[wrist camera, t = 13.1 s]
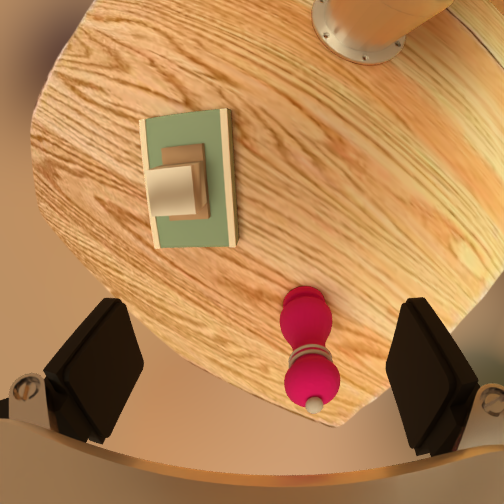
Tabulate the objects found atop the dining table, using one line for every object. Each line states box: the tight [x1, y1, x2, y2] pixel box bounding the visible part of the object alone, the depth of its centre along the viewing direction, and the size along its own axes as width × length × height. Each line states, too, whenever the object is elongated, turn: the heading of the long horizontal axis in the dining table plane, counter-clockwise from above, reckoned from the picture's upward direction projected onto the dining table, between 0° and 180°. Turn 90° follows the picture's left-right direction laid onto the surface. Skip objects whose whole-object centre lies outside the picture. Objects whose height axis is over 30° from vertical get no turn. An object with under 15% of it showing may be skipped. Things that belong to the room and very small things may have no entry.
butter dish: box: [146, 143, 211, 221], centre depth 32 cm, size 9×5×6 cm, turn 3°
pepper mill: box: [280, 286, 340, 414], centre depth 35 cm, size 7×7×20 cm
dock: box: [139, 108, 239, 249], centre depth 36 cm, size 17×11×3 cm, turn 3°
